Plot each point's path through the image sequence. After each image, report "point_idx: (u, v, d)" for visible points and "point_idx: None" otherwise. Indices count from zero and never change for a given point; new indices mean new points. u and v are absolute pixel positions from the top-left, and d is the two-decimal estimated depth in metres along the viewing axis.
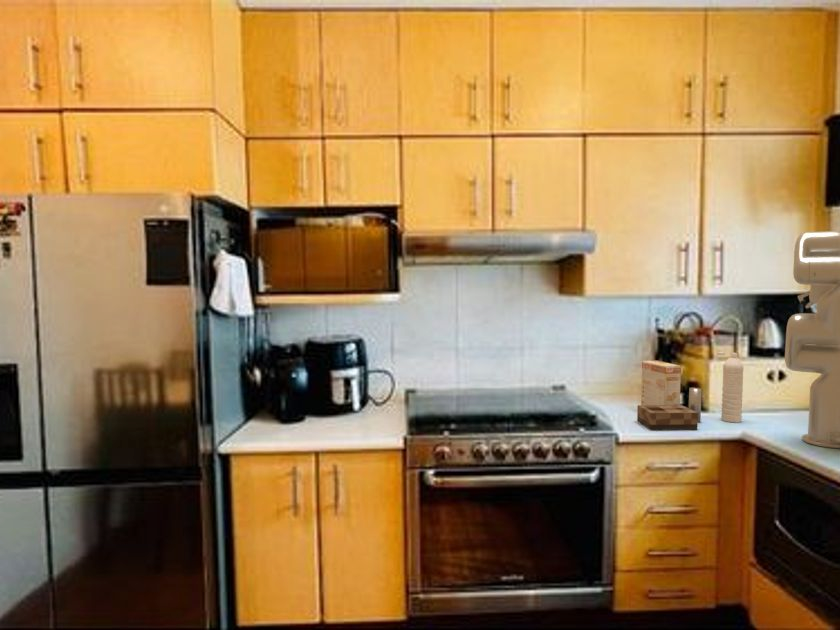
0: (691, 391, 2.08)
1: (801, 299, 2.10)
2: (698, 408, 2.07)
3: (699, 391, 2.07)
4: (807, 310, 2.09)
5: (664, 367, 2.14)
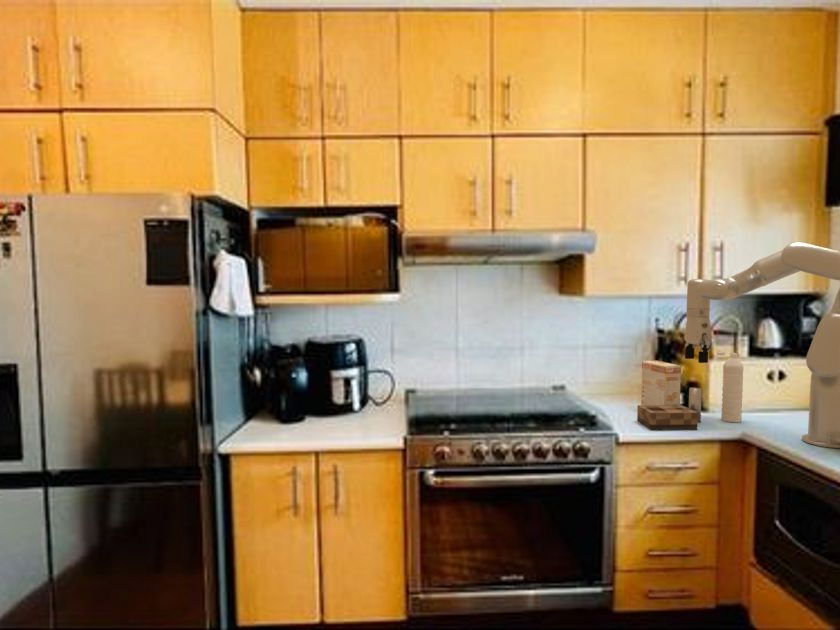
0: (691, 391, 2.08)
1: None
2: (698, 408, 2.07)
3: (699, 391, 2.07)
4: None
5: (664, 367, 2.14)
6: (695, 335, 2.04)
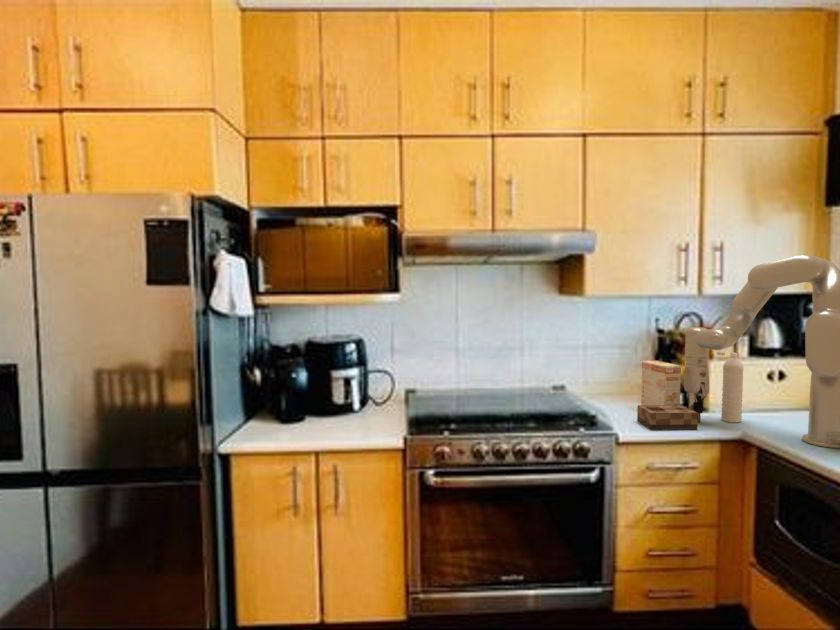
0: None
1: None
2: None
3: None
4: None
5: (664, 367, 2.14)
6: (693, 384, 2.05)
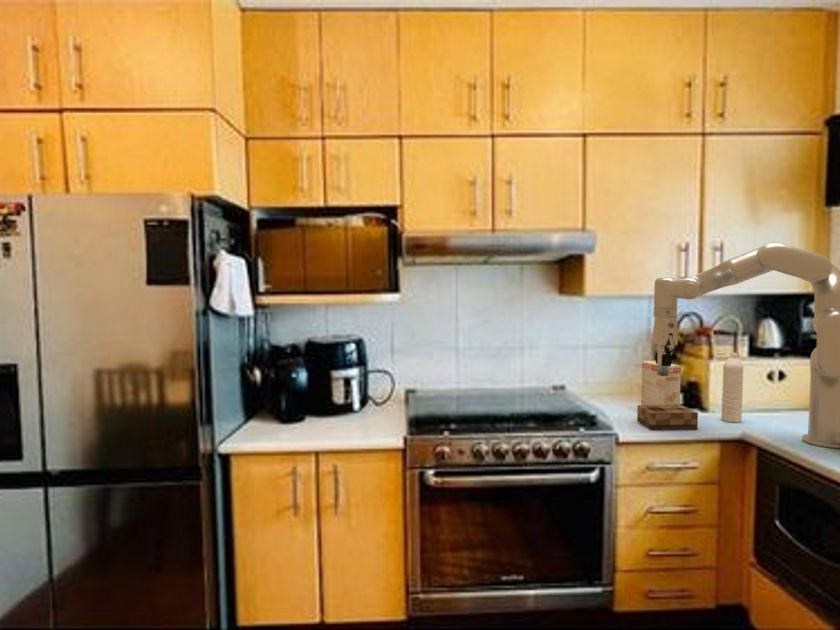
0: None
1: None
2: None
3: None
4: None
5: None
6: (662, 335, 1.99)
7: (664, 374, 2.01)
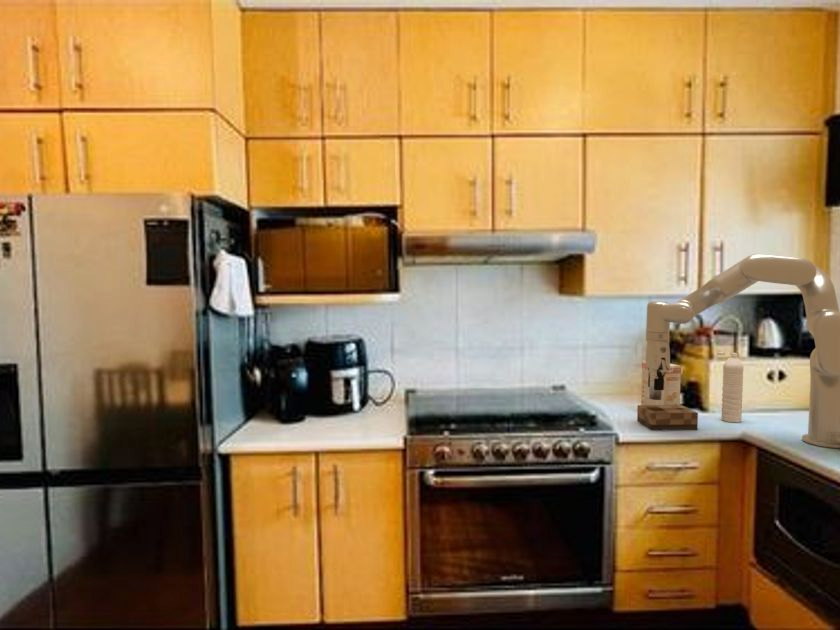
0: None
1: None
2: None
3: None
4: None
5: None
6: (654, 359, 1.98)
7: (656, 398, 2.01)
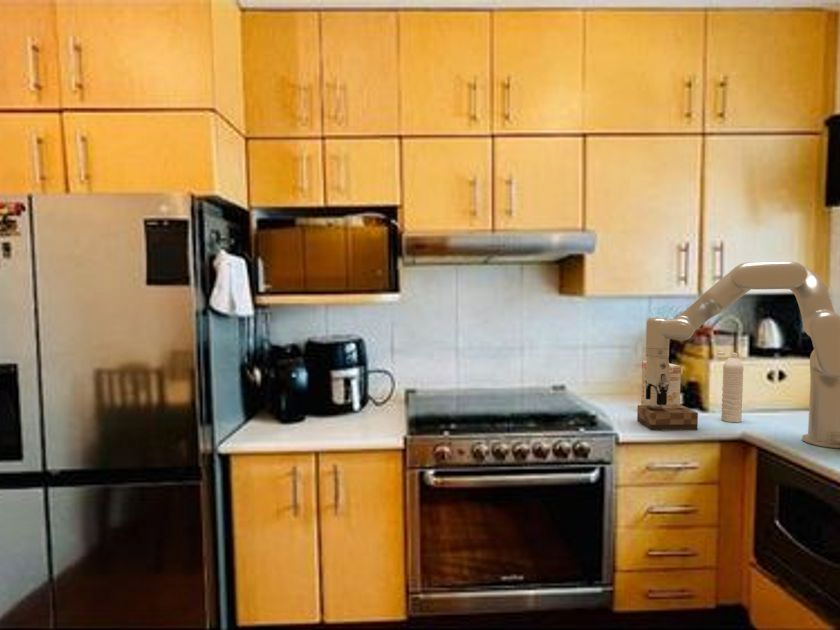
0: (652, 389, 2.02)
1: None
2: (659, 406, 2.01)
3: None
4: None
5: None
6: (654, 376, 1.99)
7: None
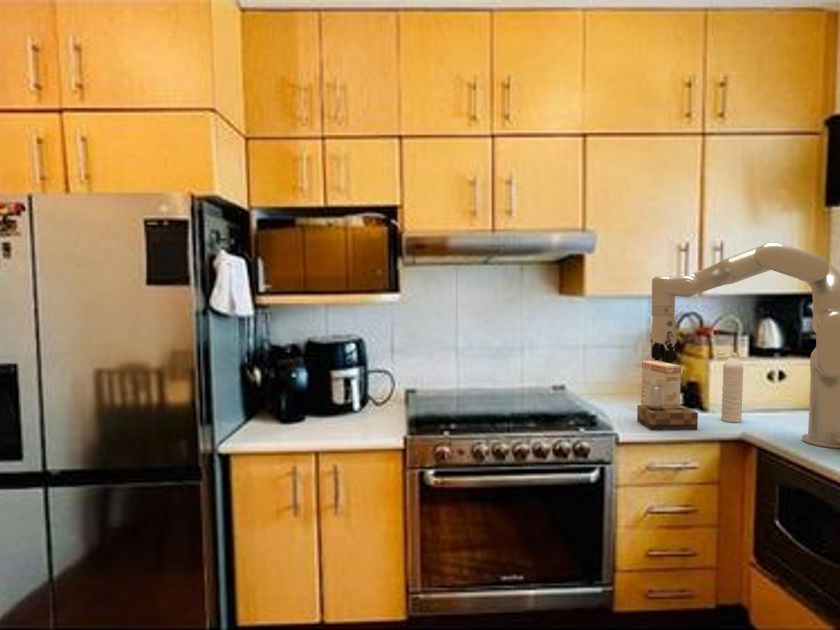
0: (651, 389, 2.02)
1: None
2: (659, 406, 2.01)
3: (660, 389, 2.00)
4: None
5: (664, 367, 2.14)
6: (660, 334, 1.99)
7: None
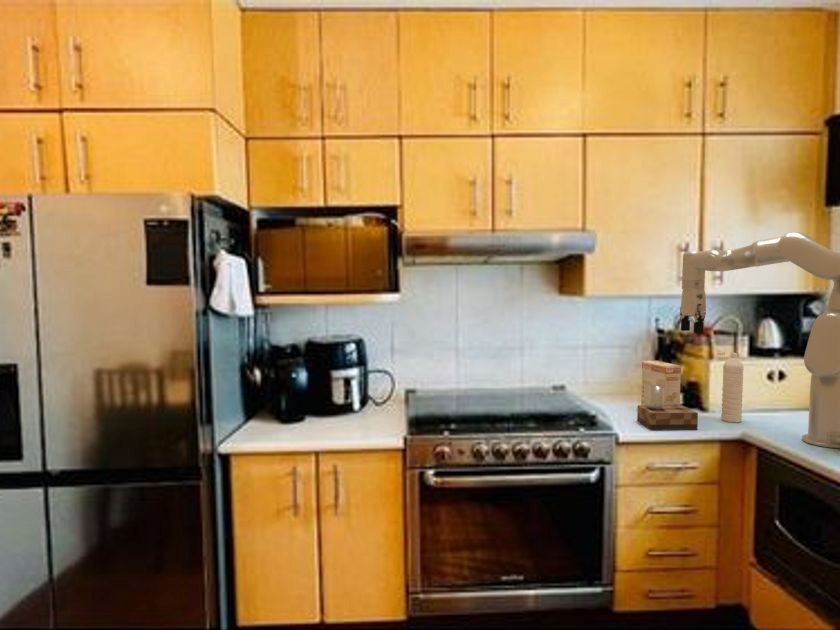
0: (652, 388, 2.02)
1: None
2: (659, 406, 2.01)
3: (660, 389, 2.01)
4: None
5: (664, 367, 2.14)
6: (690, 306, 2.08)
7: None
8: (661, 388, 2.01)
